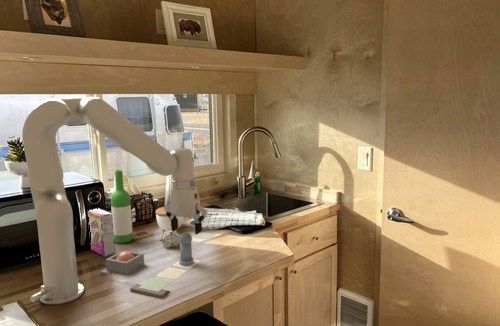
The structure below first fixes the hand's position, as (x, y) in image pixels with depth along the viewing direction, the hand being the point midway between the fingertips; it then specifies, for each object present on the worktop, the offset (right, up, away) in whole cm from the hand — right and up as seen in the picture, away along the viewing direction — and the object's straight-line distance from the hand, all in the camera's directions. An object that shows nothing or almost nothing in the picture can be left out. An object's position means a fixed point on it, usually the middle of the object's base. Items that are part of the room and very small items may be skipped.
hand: (186, 231), depth 146 cm
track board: (-4, -14, -6) cm, 16 cm away
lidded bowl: (-14, -6, +42) cm, 45 cm away
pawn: (0, -12, +2) cm, 12 cm away
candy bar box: (-35, -11, +16) cm, 40 cm away
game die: (-9, -10, +19) cm, 23 cm away
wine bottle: (-31, -9, +28) cm, 43 cm away
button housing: (-21, -13, -1) cm, 25 cm away
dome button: (-21, -12, -1) cm, 25 cm away
